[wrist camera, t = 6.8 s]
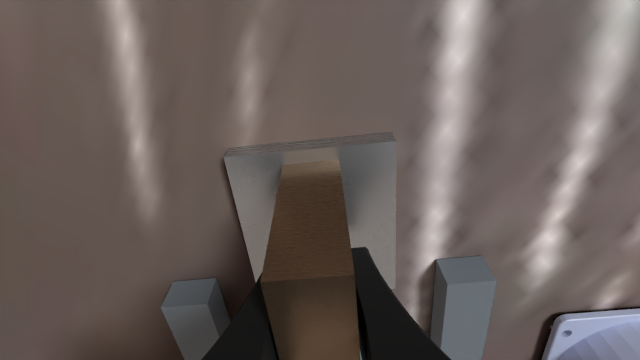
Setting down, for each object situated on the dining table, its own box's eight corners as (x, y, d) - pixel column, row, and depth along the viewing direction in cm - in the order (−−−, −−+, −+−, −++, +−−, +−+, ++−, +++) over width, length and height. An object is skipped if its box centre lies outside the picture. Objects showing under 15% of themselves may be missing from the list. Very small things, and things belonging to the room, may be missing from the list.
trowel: (391, 132, 13) (452, 247, 7) (391, 275, 16) (432, 431, 10) (228, 148, 13) (160, 272, 7) (262, 286, 16) (234, 443, 11)
